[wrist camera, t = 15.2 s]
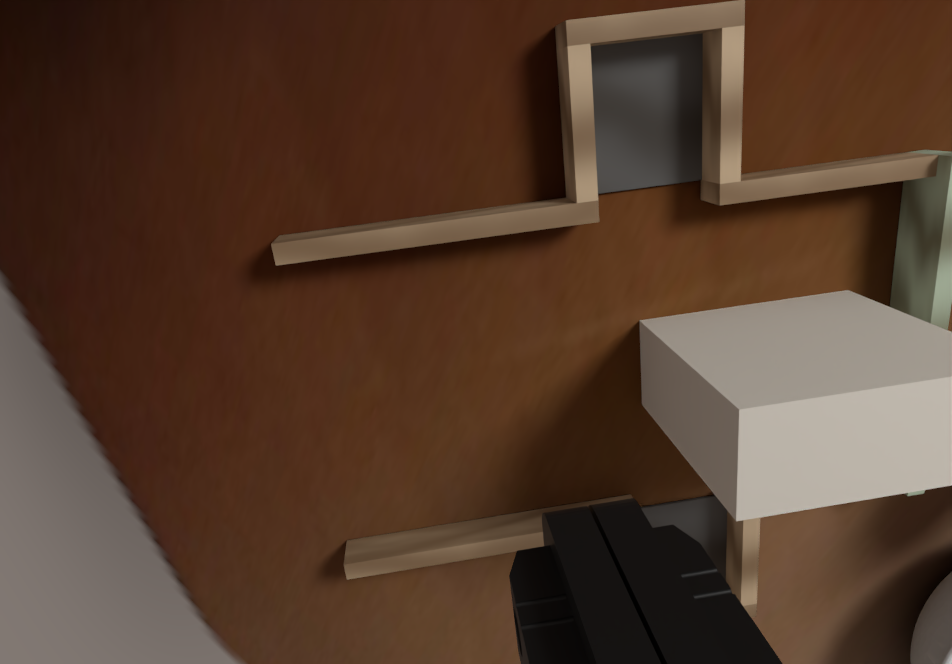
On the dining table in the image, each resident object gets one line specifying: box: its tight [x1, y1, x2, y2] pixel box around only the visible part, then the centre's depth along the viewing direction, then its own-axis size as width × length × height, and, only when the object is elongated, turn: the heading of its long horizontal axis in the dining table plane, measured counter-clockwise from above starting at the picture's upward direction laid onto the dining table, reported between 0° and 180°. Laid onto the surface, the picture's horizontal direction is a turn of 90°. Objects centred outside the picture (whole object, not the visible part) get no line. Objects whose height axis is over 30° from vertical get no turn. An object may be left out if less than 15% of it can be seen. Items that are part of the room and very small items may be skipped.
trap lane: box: [271, 0, 952, 617], centre depth 40 cm, size 41×39×4 cm
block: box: [639, 290, 952, 521], centre depth 36 cm, size 6×14×13 cm, turn 97°
